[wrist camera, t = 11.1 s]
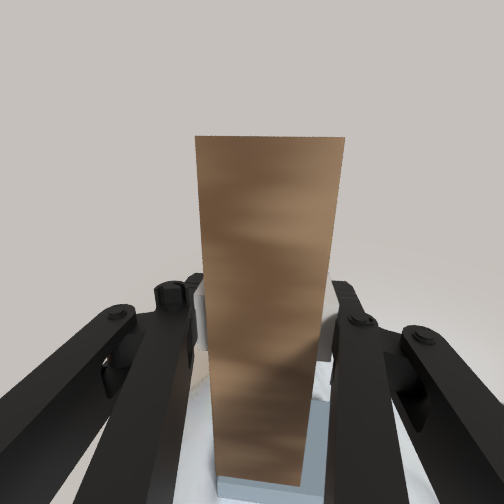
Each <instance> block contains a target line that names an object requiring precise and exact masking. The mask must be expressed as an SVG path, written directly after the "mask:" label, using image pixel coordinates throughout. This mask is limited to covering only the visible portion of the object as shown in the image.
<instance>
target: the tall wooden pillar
mask: <svg viewBox="0 0 504 504" xmlns="http://www.w3.org/2000/svg"><path fill="white" fill-rule="evenodd" d="M344 143H345V137H259V136H195V147H196V163H197V178H198V195H199V211H200V227H201V243H202V259H203V275H204V291H205V307H206V323H207V339H208V355H209V371H210V387H211V403H212V420H213V436H214V452H215V468H216V475H218V476H225V477H232V478H239V479H246V480H253V481H261V482H268V483H275V484H282V485H289V486H296V487H300V483H301V476H302V468H303V460H304V452H305V445H306V437H307V429H308V421H309V414H310V406H311V398H312V390H313V383H314V375H315V367H316V360H317V352H318V344H319V336H320V329H321V321H322V313H323V305H324V298H325V290H326V282H327V274H328V267H329V259H330V251H331V243H332V236H333V228H334V220H335V212H336V204H337V196H338V189H339V181H340V174H341V166H342V158H343V150H344Z"/></svg>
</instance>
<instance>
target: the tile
mask: <svg viewBox="0 0 504 504" xmlns="http://www.w3.org/2000/svg"><path fill="white" fill-rule="evenodd" d="M329 411H330V402H327V401H318V400H311V406H310V414H309V421H308V429H307V437H306V445H305V452H304V460H303V468H302V476H301V483H300V487H296V486H289V485H282V484H275V483H268V482H261V481H253V480H246V479H239V478H232V477H225V476H218V480H217V491H218V497H221V498H228V499H234V500H241V501H248V502H255V503H262V504H323V503H324V487H325V472H326V457H327V442H328V426H329Z"/></svg>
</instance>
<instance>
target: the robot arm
mask: <svg viewBox="0 0 504 504" xmlns="http://www.w3.org/2000/svg"><path fill="white" fill-rule="evenodd" d="M154 294H155V301H156V310H155V311H154V312H149V313H140V314H136V311H135V308H134V307H133V306H132V305H128V304H119V305H114V306H111V307H109V308H107V309H105V310H103V311H102V312H101V313H99V314H98V315H97V316H96V317H95V318H94V319H93V320H91V321H90V322H89V323H88V324H87V325H85V326H84V327H83V328H82V329H81V330H80V331H79V332H77V333H76V334H75V335H74V336H73V337H72V338H70V339H69V340H68V341H67V342H66V343H65V344H63V345H62V346H61V347H60V348H59V349H58V350H56V351H55V352H54V353H53V354H52V355H51V356H49V357H48V358H47V359H46V360H45V361H44V362H43V363H42V364H40V365H39V366H38V367H37V368H35V369H34V370H33V371H32V372H31V373H30V374H28V375H27V376H26V377H25V378H24V379H23V380H22V381H20V382H19V383H18V384H17V385H16V386H15V387H13V388H12V389H11V390H10V391H9V392H8V393H6V394H5V395H4V396H3V397H2V398H1V399H0V504H50V502H51V501H52V499H53V498H54V496H55V495H56V493H57V492H58V490H59V489H60V488H61V486H62V485H63V483H64V482H65V480H66V479H67V477H68V476H69V474H70V473H71V472H72V470H73V469H74V467H75V466H76V464H77V463H78V461H79V460H80V458H81V457H82V456H83V454H84V453H85V451H86V450H87V448H88V447H89V445H90V444H91V442H92V441H93V439H94V438H95V437H96V435H97V434H98V432H99V430H100V429H101V428H102V426H103V425H104V424H105V422H106V421H107V419H108V418H109V419H108V422H107V424H106V427H105V429H104V431H103V433H102V436H101V438H100V441H99V443H98V445H97V448H96V450H95V452H94V455H93V457H92V459H91V462H90V464H89V466H88V469H87V471H86V474H85V476H84V478H83V480H82V483H81V485H80V487H79V490H78V492H77V494H76V497H75V500H74V501H73V504H173V497H174V490H175V483H176V477H177V470H178V463H179V457H180V450H181V443H182V437H183V430H184V423H185V416H186V410H187V403H188V396H189V390H190V382H191V376H192V369H193V363H194V346H195V343H196V341H197V344H198V350H205V351H208V339H207V323H206V307H205V291H204V275H203V273H194V274H193V275H191V276H189V277H188V279H187V280H186V281H185V282H182V281H168V282H164V283H162V284H159V285H158V286H156V287H155V288H154ZM332 354H333V358H334V362H333V368H332V374H331V380H330V385H331V396H330V411H329V426H328V442H327V457H326V472H325V487H324V503H323V504H409V498H408V492H407V487H406V481H405V475H404V470H403V464H402V458H401V452H400V447H399V441H398V435H397V430H396V424H395V418H394V412H393V407H392V401H393V403H394V405H395V407H396V409H397V411H398V414H399V416H400V418H401V420H402V422H403V424H404V427H405V429H406V431H407V433H408V435H409V437H410V440H411V442H412V444H413V446H414V448H415V451H416V453H417V455H418V457H419V459H420V461H421V464H422V466H423V468H424V470H425V472H426V474H427V477H428V479H429V481H430V483H431V485H432V487H433V490H434V492H435V494H436V496H437V498H438V500H439V503H440V504H504V406H503V405H502V404H501V403H500V402H499V401H498V399H497V398H496V397H495V396H494V395H493V394H492V393H491V391H490V390H489V389H488V388H487V387H486V386H485V385H484V384H483V382H482V381H481V380H480V379H479V378H478V377H477V375H476V374H475V373H474V372H473V371H472V370H471V369H470V367H469V366H468V365H467V364H466V363H465V362H464V361H463V360H462V358H461V357H460V356H459V355H458V354H457V353H456V351H455V350H454V349H453V348H452V347H451V346H450V345H449V343H448V342H447V341H446V340H445V339H444V338H443V337H442V336H441V335H440V334H438V333H436V332H435V331H433V330H431V329H429V328H426V327H423V326H417V325H410V326H407V327H404V328H403V331H402V334H400V333H396V332H392V331H388V330H385V329H382V328H380V327H378V323H377V321H376V319H374V318H373V317H372V316H370V315H369V314H367V313H365V312H364V310H363V308H362V306H361V303H360V301H359V299H358V297H357V295H356V294H355V291H354V289H353V287H352V286H351V285H350V284H348V283H347V282H346V281H331V279H330V276H329V273H328V274H327V282H326V290H325V298H324V305H323V313H322V321H321V329H320V336H319V344H318V352H317V360H316V361H324V362H331V355H332ZM106 358H107V359H108V360H107V361H106V362H105V363H104V364H103V362H104V360H105V359H106ZM102 364H103V365H102ZM391 398H392V401H391ZM109 416H110V417H109Z"/></svg>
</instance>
